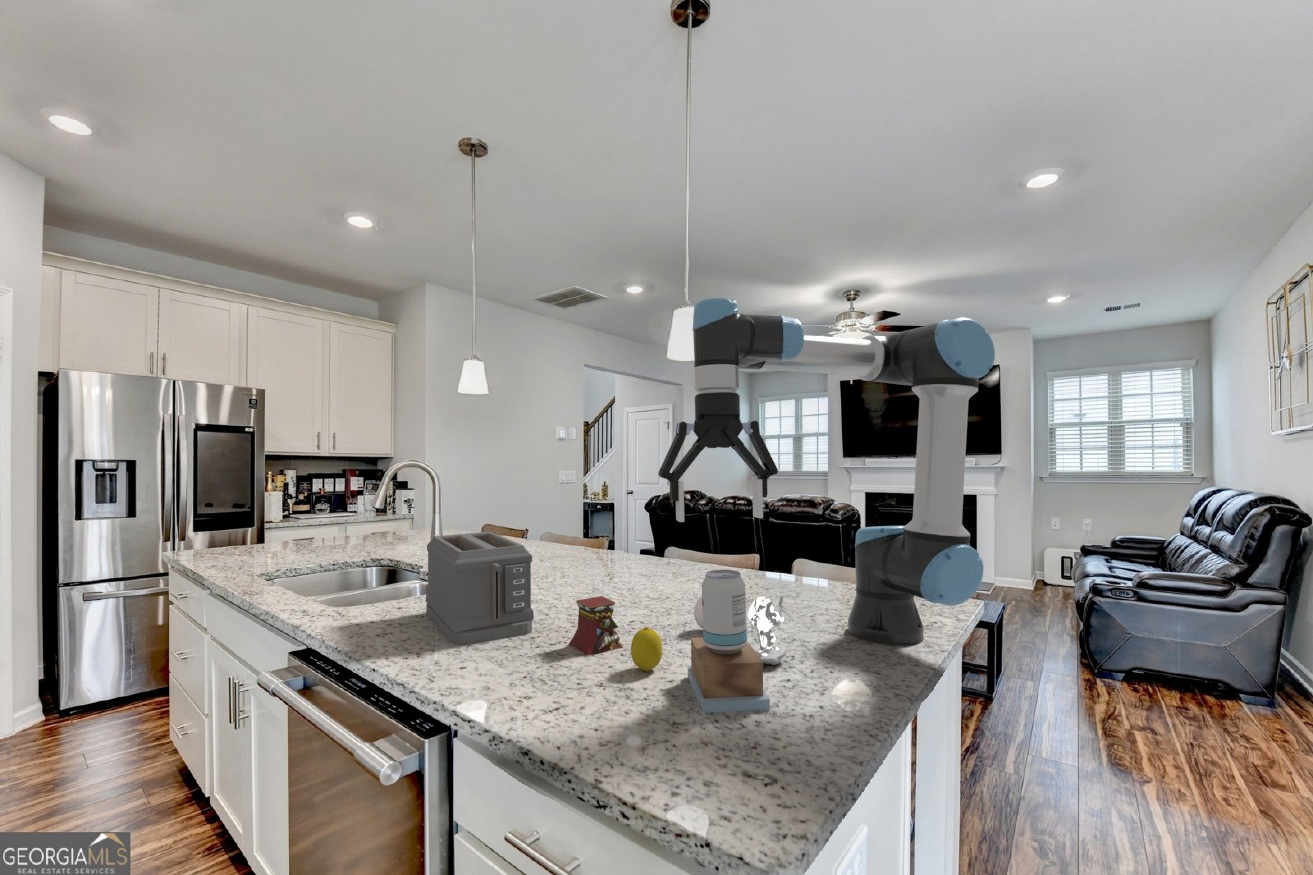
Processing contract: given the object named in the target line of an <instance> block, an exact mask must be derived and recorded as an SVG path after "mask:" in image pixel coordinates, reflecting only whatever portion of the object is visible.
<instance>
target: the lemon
mask: <svg viewBox="0 0 1313 875" xmlns="http://www.w3.org/2000/svg"><path fill="white" fill-rule="evenodd" d="M630 655H631V659H632V661H633V664H634V665H635V666H636V667H637V668H638V669H641V670H642V671H643V672H650V671H651V670H653V669H655V668H656V667H657V666H658V665H659V663H660V662H661V660H662V658H663V643H662V638H661V637H660V635H659V633H658V632H657V631H656V630H654V629H653V628H650V627H649V626H644V627H643V628H641V629H639V630H638V631H636V632H635V634H634V635H633V638H632V640H631V644H630Z"/></svg>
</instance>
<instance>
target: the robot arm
mask: <svg viewBox="0 0 1313 875" xmlns="http://www.w3.org/2000/svg"><path fill="white" fill-rule="evenodd" d="M693 308H694V309H693V315H692V316H693V317H692V320H693V322H692V332H693V333H692V334H693V337H692V338H693V354H694V355H693V358H694V360H693V361H694V363H693V366H694V391H696V392H697V394H695V396H694V415H695V416H694V422H693V423H690V422H686V421H679V422H677V423H676V428H675V436H674V438H673V441H672V442H671V444H670V447H669V449H668V450H667V453H666V454H665V457H664V460H663V462H662V464H661V466H660V467H659V470H658V473H657V474H658V476H659V477H660V478H662V479H665V480H667V481H668V483H669V498H670V501H671V502H675V520H676V521H677V522H679V523H685V487H684V485H685V484H684V481H681V480H680V479H681V478H682V477H683V475H684V474H685V473H686V472H687V471H688V469H689V468H690V467H691V465H692V464H693V463H694V461H695V460H696V459H697V457H698V456H699V455H700V453H701V452H702V451H703V450H705V448H707V449H717V448H721V449H729V448H731V449H732V450H734V451H735V453H736V454H737V455H738V456H739V457H740V459H741V460H743V462H744V463H745V464H746V466H747V467H748V468H749V469H750V470H751V471H752V472H753V474H754V475H755V476H756V478H752V481H751V482H752V483H751V484H752V516H753V517H754V518H757V519H763V518H764V507H763V505H764V501H763V499H765V498H767V497H768V479H769V478H770V477H772V476H774V475H777V474H778V472H779V469H778V467H777V465H776V463H775V461H774V459H773V457H772V454H771V453H770V451H769V449H768V446H767V445H766V443H765V442H764V439H763V437H762V435H761V433H760V432H761V431H760V425H759V424H760V423H759V421H757V420H749V421H748V422H742V421H741V406H740V405H741V403H740V402H741V401H740V399H741V398H740V394H739V393H737V391H738V390H740V386H741V385H740V369H742V370H765V371H781V372H793V373H794V372H796V373H812V374H814V373H815V374H826V375H827V374H828V375H843V376H857V378H858V379H860V380H862V381H866V382H867V381H868V382H875V383H876V382H878V383H886V384H893V385H901V386H902V385H904V386H911V391H912V392H914V394H915V395H916V396H917V397H918V398H919V399H918V400H919V402H918V403H919V404H918V422H917V436H916V437H917V438H916V440H917V441H916V452H915V453H916V454H915V469H914V470H915V473H914V474H915V475H914V488H913V490H914V491H913V506H912V507H913V509H912V510H913V511H912V519H911V520H910V521H909V522H908V523H907V524H906V525H883V526H882V525H881V526H868V527H867V526H865V527H861V528H859V529H858V530H857V531H856V533H855V542H854V543H855V544H854V548H855V549H854V550H855V551H854V552H855V553H854V554H855V591H856V592H855V598H854V600H853V604H852V606H851V609H850V613H849V616H848V619H847V631H848V633H849V634H850V635H851V636H853V637H854V638H857V639H860V640H862V641H866V642H870V643H874V644H879V645H880V644H881V645H892V646H909V645H914V644H918V643H920V642H922V641H923V640H924V639H925V637H924V636H925V634H924V632H925V630H924V629H925V628H924V625H923V621H922V619H921V616H920V613H919V610H918V607H917V605H916V601H915V597H916V598H917V597H918V598H921V599H924V600H925V601H927V602H930V603H933V604H941V605H944V606H947V607H948V606H951V607H952V606H954V607H955V606H959V605H962V604H964V603H965V602H967V601H969V600H970V599H971V597H972V596H973V595H975V594H976V592H977V591H978V589H979V588H980V586H981V583H982V580H983V577H984V564H983V563H984V561H983V560H982V557H980V553H979V552H978V551H977V549H975V548H973V547H972V546H971V544H970V543H971V533H970V532H969V530H968V529H966V528H965V527H964V525H963V509H964V508H963V507H964V506H963V505H964V492H965V491H964V490H965V489H964V488H965V471H966V469H965V468H966V453H967V452H966V451H967V450H966V449H967V433H968V432H967V431H968V415H969V400H970V399H971V397H972V396H974V395H975V394H977V393H978V392H979V380H980V379H981V378H983V377H984V376H986V375H987V374H988V373H989V372H990V369H992V368H993V366H994V364H995V360H996V359H995V358H996V353H995V351H996V350H995V345H994V342H993V338H992V337H991V335H990V333H989V332H988V331H987V330H986V328H985V327H984V326H983V325H982V324H981V323H979V322H978V321H976V320H975V319H971V318H968V317H959V318H953V319H943V320H942V321H939V322H935V323H931V324H926V325H924V326H920V327H915V328H912V329H907V330H904V331H901V332H895V333H892V334H884V335H873V334H872V335H870V334H869V335H867V336H866V335H865V336H864V337H862V338H861V339H860V338H849V337H848V338H847V337H834V336H825V335H824V336H823V335H822V336H821V335H814V334H813V335H811V334H805V330H804V327H803V324H802V322H800V320H799V319H798V318H796V317H790V316H784V315H781V314H780V315H762V314H744V313H740V310H739V306H738V302H737V301H736V300H734V299H732V298H729V297H728V298H727V297H711V298H707V299H703V300H700V301H698V302H697V303H696V304H695V306H694V307H693ZM742 431H744V433H745V434H746V435H748V437H749V440H750V442H751V444H752V446H753V448H754V450H755V452H756V454H757V456H758V458H759V460H760V462H761V463H762V464H761V463H760V462H759V461H758V460H757V459H756V458H755V456H754V455H753V453H751V451H750V450H749V449H748V448H747V447H746V446H745V443H744V442H743V441H742V440H741V439H740V437H739V435H740V434H741V432H742ZM691 432H693V433H694V435H695V436H696V437H697V439H696V440H695V441H694V443H693V444H692V445H691V447H690V449H689V450H688V451H687V452H686V453H685V455H684V456H683V457H682V459H681V460H680V461H679V462H678V464H677V465H676V466H675V468H674V469H673V470H672V468H673V466H674V464H675V462H676V460H677V457H678V456H679V453H680V451H681V449H682V447H683V445H684V442H685V440H686V436H689V435H690V434H691Z"/></svg>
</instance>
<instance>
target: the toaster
mask: <svg viewBox="0 0 1313 875" xmlns="http://www.w3.org/2000/svg"><path fill="white" fill-rule="evenodd" d="M426 551H427V592H426V594H425V603H426V608H425V611H426V613H425V614H426V617H427V618H428V619H429V620H430V621H431V623H432V624H433V625H434V627H436V628H437V630H438V631H439V632H440V633H441V634H442V635H443V636H444V638H446V639H447V640H448V641H449V642H448V643H451V644H453V645H470V644H476V643H477V644H478V643H483V642H488V641H495V640H496V641H497V640H502V639H509V638H513V637H520V636H526V635H529V634H531V633H532V632H533V620H534V619H535V617H534V616H535V615H534V609H533V608H532V605H531V604H532V595H531V593H532V592H531V590H532V583H531V581H532V580H531V579H532V577H531V576H532V575H531V574H532V573H531V572H532V571H531V569H532V564H531V563H532V562H533V555H532V554H531V553H530V552H529V551H528V549H527V548H526V546H525V545H523V544H521V543H519V542H516V541H515V540H511V539H509V538H507V537H504V536H502V535H499V534H497V533H495V532H493V531H482V532H471V533H459V534H448V535H447V534H445V535H435V536H433V538H432V539H431V540H430V541H429V542H428V543H427V545H426Z"/></svg>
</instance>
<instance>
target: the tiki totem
mask: <svg viewBox="0 0 1313 875" xmlns="http://www.w3.org/2000/svg"><path fill="white" fill-rule="evenodd" d="M575 602H576V604H577V606H578V617H577V628H576V630H575V633H574V634H573V637H572V638H571V640H570V641H569V643H568V645H569V646H571V647H572V648H574V649H575V650H577V651H579V652H581V653H583V654H585V655H586V656H591V655H596V654H601V653H605V652H609V651H614V650H618V649H623V648H624V646H623V644H622V643H621V641H620V640H621V639H620V636H619V634H618V633H617V632H616V630H615V629H618V628H619V625H618V624H617V623H616V621H614V619H613V613H614V609H615V606H616V602H615V601H613V600H612V599H609V598H607V597H604V596H603V595H600V596H594V597H589V598H588V597H587V598H584V599H579V600H578V599H577V600H575Z"/></svg>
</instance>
